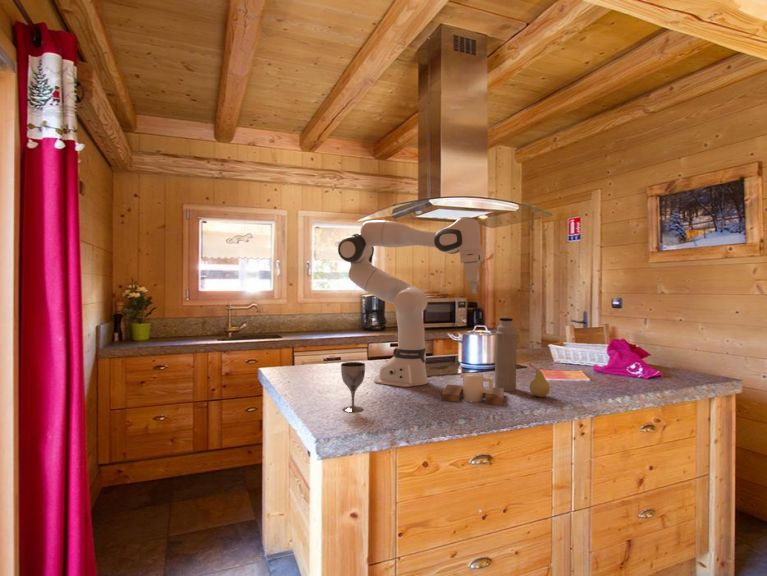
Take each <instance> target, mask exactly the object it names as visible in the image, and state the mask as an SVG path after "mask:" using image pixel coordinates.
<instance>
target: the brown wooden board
mask: <svg viewBox="0 0 767 576" xmlns="http://www.w3.org/2000/svg"><path fill="white" fill-rule="evenodd" d="M483 388H485V389H489V386H488V387H487V386H483ZM504 393H505V391H504V389H501V388H495V387H493V393H483V398H484V405H491V404H495V405H494V406H502V405H503V406H504V395H505V394H504ZM462 396H463V385H459V384H446V386H445V387H444V390H443V391H442V393H441V401H445V402H446V401H447V402H455V401H459V402H460V400H461V398H462Z"/></svg>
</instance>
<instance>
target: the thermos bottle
mask: <svg viewBox="0 0 767 576" xmlns="http://www.w3.org/2000/svg"><path fill="white" fill-rule="evenodd" d="M496 330H497V331H495V345H494V346H495V348H494V349H495V353H494V355H495V357H494V358H495V361H494V366H495V367H494V369H495V370H494V388H501V389H504V392H507V391H508V392H509V391H510V392H515V391H516V390H517V337H518V336H517V335H518V334H517V332H516V327H515V326H514V325H513V318H511V317H500V318H499V325H498V326H497V328H496ZM510 392H509V393H510Z"/></svg>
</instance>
